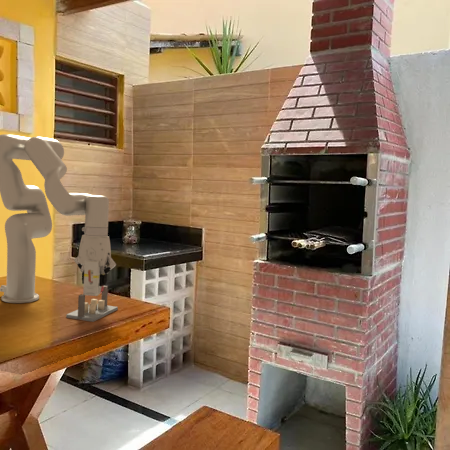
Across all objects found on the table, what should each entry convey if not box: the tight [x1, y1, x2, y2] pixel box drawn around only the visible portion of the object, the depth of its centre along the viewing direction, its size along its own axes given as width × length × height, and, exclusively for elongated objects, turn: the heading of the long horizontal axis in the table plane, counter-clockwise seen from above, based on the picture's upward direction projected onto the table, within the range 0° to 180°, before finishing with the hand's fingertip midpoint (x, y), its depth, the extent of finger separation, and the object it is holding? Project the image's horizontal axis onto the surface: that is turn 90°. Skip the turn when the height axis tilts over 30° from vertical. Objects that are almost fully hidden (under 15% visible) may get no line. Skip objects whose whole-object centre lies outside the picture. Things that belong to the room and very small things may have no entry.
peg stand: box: [65, 285, 119, 322], centre depth 158 cm, size 10×16×8 cm, turn 164°
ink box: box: [82, 260, 105, 297], centre depth 157 cm, size 9×5×12 cm, turn 0°
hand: (94, 283), depth 157 cm, fingers closed on ink box, 5 cm apart
